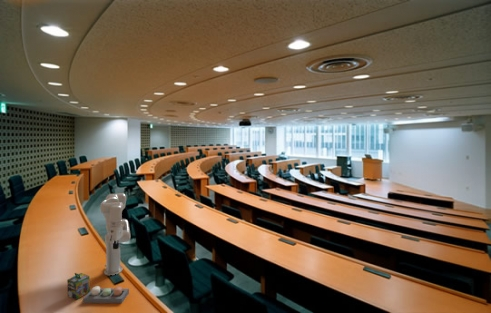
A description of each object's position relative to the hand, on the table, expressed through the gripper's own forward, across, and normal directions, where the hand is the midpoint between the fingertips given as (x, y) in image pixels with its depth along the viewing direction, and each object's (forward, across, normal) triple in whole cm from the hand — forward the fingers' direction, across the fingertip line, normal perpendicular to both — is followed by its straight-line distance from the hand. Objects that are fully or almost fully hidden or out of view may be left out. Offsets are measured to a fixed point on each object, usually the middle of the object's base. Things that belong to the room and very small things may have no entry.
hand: (115, 248), depth 167 cm
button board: (+27, -13, -1) cm, 30 cm away
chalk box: (+27, -10, +19) cm, 35 cm away
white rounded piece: (+25, -13, +6) cm, 29 cm away
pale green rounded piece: (+26, -13, -1) cm, 29 cm away
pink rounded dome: (+25, -13, -8) cm, 29 cm away
